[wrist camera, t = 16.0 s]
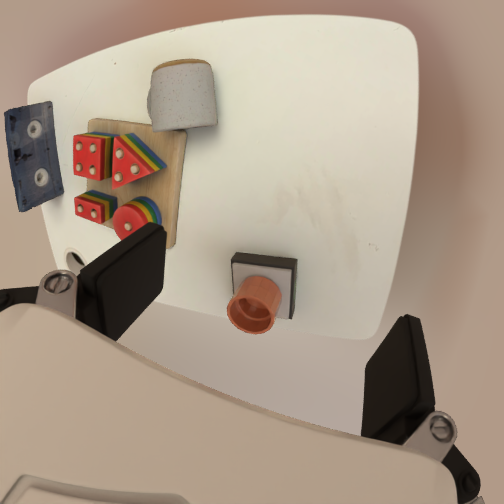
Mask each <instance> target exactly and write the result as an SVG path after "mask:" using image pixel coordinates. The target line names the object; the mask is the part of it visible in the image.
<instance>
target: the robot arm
mask: <svg viewBox="0 0 504 504" xmlns="http://www.w3.org/2000/svg"><path fill="white" fill-rule="evenodd" d="M166 242H167V232H166V231H165V230H164V227H163V226H162V225H159V224H156V223H154V222H148V223H146V224H145V225H143V226H142V227H140V228H139V229H138V230H136V231H135V232H133V233H132V234H130V235H129V236H127V237H126V238H124V239H123V240H121V241H120V242H119V243H117V244H116V245H114V246H113V247H111V248H110V249H109V250H107V251H106V252H104V253H103V254H102V255H100V256H99V257H98V258H96V259H95V260H93V261H92V262H91V263H89V264H88V265H87V266H85V267H84V268H83V269H81V270H80V274H79V275H78V276H76V275H75V274H74V273H72V272H71V271H68V270H55V271H52V272H49V273H48V274H46V275H45V276H44V277H43V278H42V280H41V282H40V285H39V286H36V287H23V288H11V289H2V290H0V504H485V503H484V501H483V498H482V496H480V497H478V496H477V495H478V493H479V491H480V486H481V485H480V478H479V475H478V473H477V472H476V470H475V469H474V468H473V467H472V466H471V464H470V463H469V462H468V461H467V459H466V458H465V457H464V456H463V455H462V454H461V452H460V451H459V450H458V449H457V447H456V446H455V445H454V442H455V440H456V438H457V428H456V425H455V422H454V421H453V419H452V418H451V417H450V416H449V415H448V414H446V413H444V412H442V411H435V407H434V405H435V397H434V389H433V382H432V376H431V370H430V364H429V359H428V354H427V349H426V344H425V339H424V335H423V330H422V325H421V322H420V319H419V318H416V317H414V316H411V315H408V314H406V315H404V317H402V316H400V317H399V318H398V320H397V321H396V323H395V324H394V326H393V327H392V329H391V330H390V332H389V333H388V335H387V336H386V337H385V339H384V340H383V342H382V343H381V344H380V346H379V347H378V349H377V350H376V352H375V353H374V354H373V356H372V357H371V358H370V360H369V361H368V363H367V365H366V368H365V384H364V404H363V418H362V429H361V436H357V435H353V434H349V433H345V432H341V431H337V430H333V429H330V428H326V427H322V426H318V425H315V424H311V423H308V422H305V421H301V420H298V419H294V418H291V417H288V416H285V415H282V414H279V413H276V412H273V411H270V410H267V409H264V408H261V407H259V406H256V405H253V404H250V403H248V402H245V401H242V400H240V399H237V398H234V397H232V396H229V395H227V394H224V393H222V392H219V391H217V390H215V389H212V388H210V387H207V386H205V385H203V384H200V383H198V382H196V381H194V380H191V379H189V378H187V377H185V376H183V375H180V374H178V373H176V372H174V371H172V370H170V369H168V368H166V367H163V366H161V365H159V364H157V363H155V362H153V361H151V360H149V359H147V358H145V357H144V356H142V355H140V354H138V353H136V352H134V351H132V350H130V349H128V348H127V347H125V346H123V345H121V344H119V343H117V342H116V341H117V340H118V339H119V338H120V337H121V335H122V334H123V333H124V332H125V331H126V330H127V329H128V328H129V326H130V325H131V324H132V323H133V322H134V321H135V320H136V319H137V318H138V317H139V316H140V314H141V313H142V312H143V311H144V310H145V309H146V308H147V307H148V306H149V305H150V304H151V302H153V300H154V299H155V298H156V297H157V296H158V295H159V294H160V293H161V291H162V289H163V282H164V267H165V254H166Z"/></svg>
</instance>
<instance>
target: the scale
mask: <svg viewBox="0 0 504 504" xmlns="http://www.w3.org/2000/svg"><path fill="white" fill-rule="evenodd" d="M231 268H232V282H233V295H234V293H235V292H236V290H237V288H238V287H239V285H240V283H241V282H242V281H243V280H245V279H246V278H248V277H252V276H261V277H265V278H267V279H269V280H271V281H273V282H274V283H275V284H276V285H277V286H278V288H279V289H280V292H281V294H282V302H281V305H280V308H279V311H278V314H277V316H276V318H283V319H292V317H293V313H294V309H295V294H296V278H297V259H291V258H283V257H274V256H265V255H257V254H248V253H239V252H236V253H235V255H234V256H233V257H232V259H231Z"/></svg>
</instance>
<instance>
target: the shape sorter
mask: <svg viewBox="0 0 504 504" xmlns="http://www.w3.org/2000/svg"><path fill="white" fill-rule="evenodd" d="M186 137H187V134H186V131H185V130H181V129H178V130H169V131H162V132H153V131H152V125H149V124H142V123H134V122H127V121H118V120H110V119H100V118H96V119H91V120H89V122H88V133H85V134H80V135H74V138H73V169H74V175H78V176H81V177H86V178H87V192H85V193H83V194H81V195H79V196H77V197H75V198H74V202H75V214H76V215H77V216H80V217H83V218H85V219H88V220H91V221H93V222H96V223H99V224H101V225H104V226H106V227H109V228H112V229H114V230H115V232H116V234H117V236H118V237H119V238H120V239H121V240H123V239H124V238H126V237H127V236H129V235H130V234H132V233H133V232H135V231H136V230H138V229H139V228H140V227H142V226H143V225H145V224H146V223H148V222H154V223H156V224H159V225H162V226H163V227H164V230H165V231H166V232H167V242H166V249H169V248H170V247H172V246H173V245H174V244H175V239H176V227H177V216H178V205H179V195H180V186H181V176H182V168H183V160H184V152H185V144H186Z"/></svg>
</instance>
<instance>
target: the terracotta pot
mask: <svg viewBox="0 0 504 504" xmlns="http://www.w3.org/2000/svg"><path fill="white" fill-rule="evenodd" d="M281 302H282V294H281V292H280V289H279V288H278V286H277V285H276V284H275V283H274V282H273V281H271V280H269V279H267V278H265V277H261V276H252V277H248V278H246V279H245V280H243V281H242V282H241V283H240V285H239V287H238V288H237V290H236V292H235V293H234V295H233V296H232V298H231V300H230V301H229V304H228V306H227V315H228V317H229V319H230V321H231V322H232V324H234V325H235V326H236V327H237V328H238V329H240V330H242V331H244V332H246V333H251V334H261V333H265V332H266V331H268V330H270V329H271V327H272V326H273V324H274V322H275V319H276V316H277V314H278V311H279V308H280V305H281Z"/></svg>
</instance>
